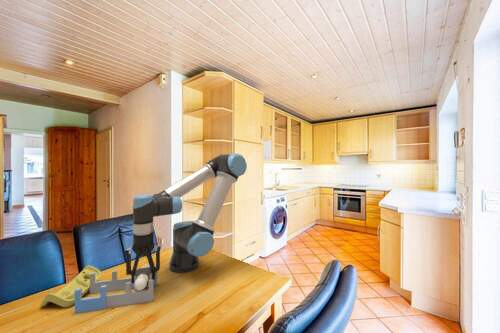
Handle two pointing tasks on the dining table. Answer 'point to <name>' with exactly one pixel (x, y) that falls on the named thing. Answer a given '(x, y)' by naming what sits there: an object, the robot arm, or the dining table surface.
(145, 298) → the blue peg rack
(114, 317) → the dining table surface
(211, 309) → the dining table surface
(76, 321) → the dining table surface
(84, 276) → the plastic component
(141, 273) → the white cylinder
